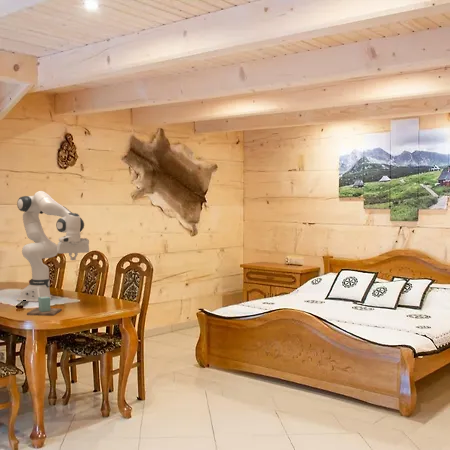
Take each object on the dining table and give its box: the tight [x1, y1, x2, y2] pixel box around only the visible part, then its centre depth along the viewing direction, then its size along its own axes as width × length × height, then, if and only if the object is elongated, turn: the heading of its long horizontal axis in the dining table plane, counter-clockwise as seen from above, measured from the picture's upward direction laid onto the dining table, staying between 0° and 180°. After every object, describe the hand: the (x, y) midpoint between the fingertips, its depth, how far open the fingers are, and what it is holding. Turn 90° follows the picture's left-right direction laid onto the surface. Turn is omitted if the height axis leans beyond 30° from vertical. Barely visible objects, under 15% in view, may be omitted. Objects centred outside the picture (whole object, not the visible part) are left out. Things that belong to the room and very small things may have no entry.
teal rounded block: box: [37, 296, 51, 312], centre depth 366 cm, size 5×6×8 cm
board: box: [26, 307, 63, 317], centre depth 366 cm, size 16×16×6 cm
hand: (73, 260), depth 387 cm, fingers closed
